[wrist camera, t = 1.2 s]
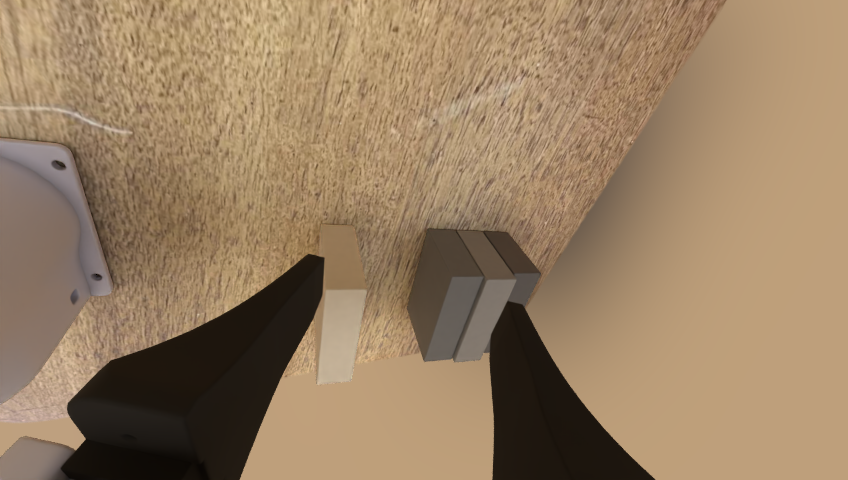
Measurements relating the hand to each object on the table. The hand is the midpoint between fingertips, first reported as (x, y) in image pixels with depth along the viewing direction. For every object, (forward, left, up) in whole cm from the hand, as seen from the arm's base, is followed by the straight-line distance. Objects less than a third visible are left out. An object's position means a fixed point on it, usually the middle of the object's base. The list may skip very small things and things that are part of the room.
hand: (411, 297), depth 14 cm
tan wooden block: (-8, +2, -11) cm, 14 cm away
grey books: (-8, -8, -11) cm, 16 cm away
